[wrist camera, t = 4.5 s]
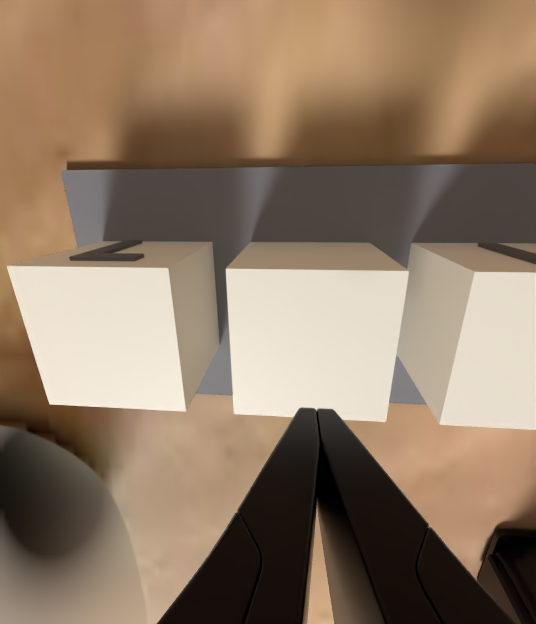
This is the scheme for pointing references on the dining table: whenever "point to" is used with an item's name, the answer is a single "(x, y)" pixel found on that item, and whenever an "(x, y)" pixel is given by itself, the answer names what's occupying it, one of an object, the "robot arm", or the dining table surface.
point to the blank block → (314, 328)
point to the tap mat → (304, 217)
